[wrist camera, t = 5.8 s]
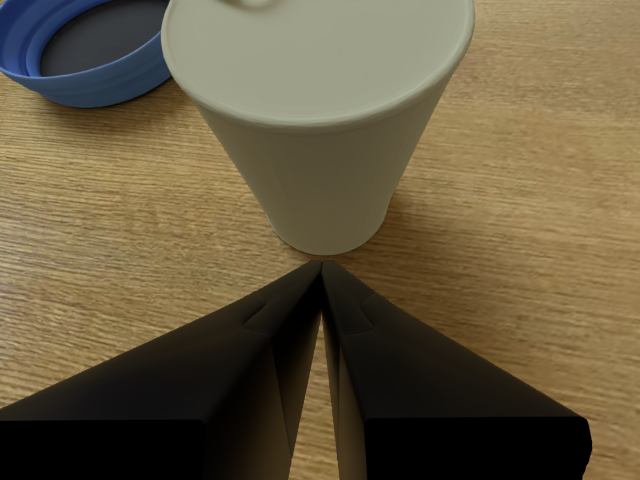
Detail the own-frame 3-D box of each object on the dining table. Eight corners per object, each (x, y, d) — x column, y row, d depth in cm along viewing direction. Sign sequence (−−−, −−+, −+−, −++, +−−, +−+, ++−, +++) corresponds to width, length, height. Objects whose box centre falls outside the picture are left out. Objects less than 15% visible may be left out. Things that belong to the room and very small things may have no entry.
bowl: (210, 92, 22) (188, 51, 19) (16, 134, 22) (-43, 100, 18) (200, -20, 28) (181, -67, 24) (46, 12, 27) (6, -31, 24)
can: (297, 132, 20) (250, -117, 9) (404, 168, 18) (523, -83, 7) (242, 226, 17) (71, 51, 6) (360, 277, 16) (429, 169, 4)
